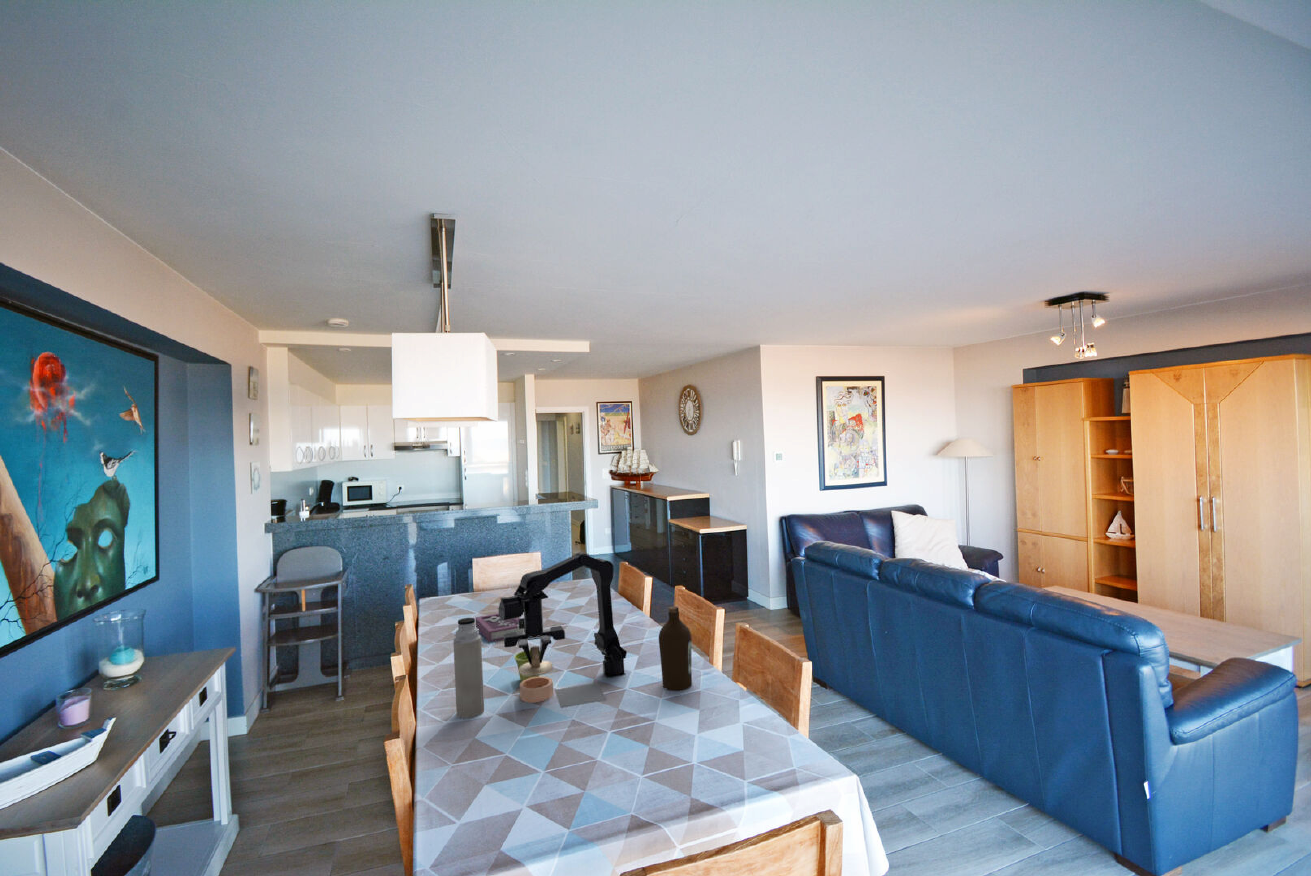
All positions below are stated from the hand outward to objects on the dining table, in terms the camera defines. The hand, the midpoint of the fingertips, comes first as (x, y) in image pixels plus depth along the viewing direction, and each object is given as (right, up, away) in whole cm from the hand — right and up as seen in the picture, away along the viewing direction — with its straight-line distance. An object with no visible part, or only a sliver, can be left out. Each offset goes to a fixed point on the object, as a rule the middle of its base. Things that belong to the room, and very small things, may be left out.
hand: (535, 663), depth 186 cm
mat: (+14, -10, -1) cm, 17 cm away
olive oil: (+45, -9, +4) cm, 46 cm away
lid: (0, -2, 0) cm, 2 cm away
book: (-30, -14, +71) cm, 78 cm away
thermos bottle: (-18, -12, -9) cm, 23 cm away
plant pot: (-5, -11, +14) cm, 19 cm away
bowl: (0, -11, 0) cm, 11 cm away
